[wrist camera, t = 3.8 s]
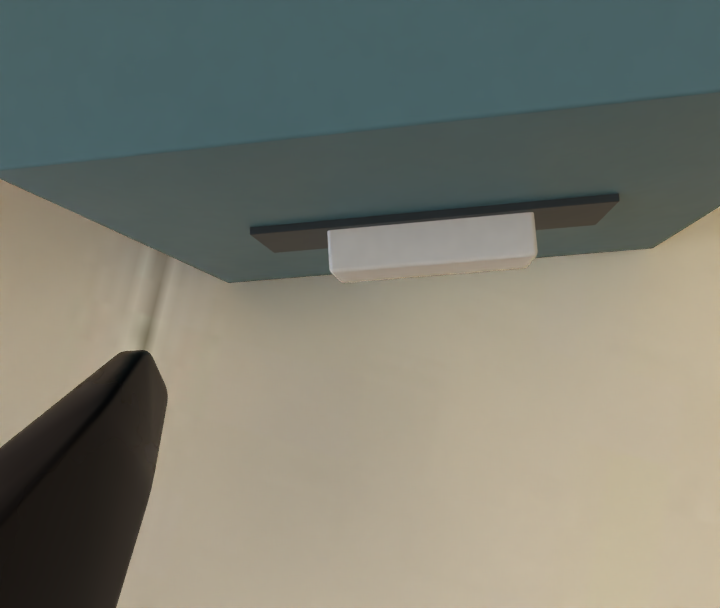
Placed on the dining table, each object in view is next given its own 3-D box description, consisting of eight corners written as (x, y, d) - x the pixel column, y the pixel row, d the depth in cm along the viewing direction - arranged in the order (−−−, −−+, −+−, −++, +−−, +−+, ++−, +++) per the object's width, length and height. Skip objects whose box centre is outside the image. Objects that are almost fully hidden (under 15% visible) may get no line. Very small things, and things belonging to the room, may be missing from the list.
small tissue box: (657, 284, 17) (965, 150, 7) (228, 316, 18) (-21, 243, 8) (628, 41, 18) (863, -383, 8) (221, 90, 19) (-12, -216, 9)
